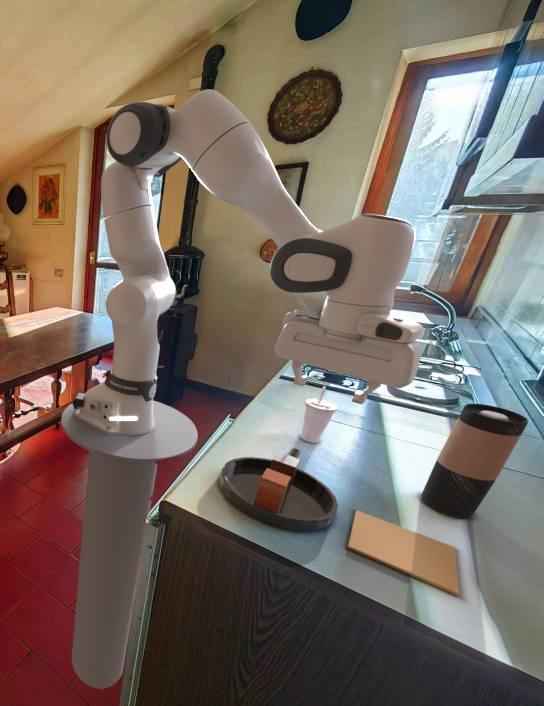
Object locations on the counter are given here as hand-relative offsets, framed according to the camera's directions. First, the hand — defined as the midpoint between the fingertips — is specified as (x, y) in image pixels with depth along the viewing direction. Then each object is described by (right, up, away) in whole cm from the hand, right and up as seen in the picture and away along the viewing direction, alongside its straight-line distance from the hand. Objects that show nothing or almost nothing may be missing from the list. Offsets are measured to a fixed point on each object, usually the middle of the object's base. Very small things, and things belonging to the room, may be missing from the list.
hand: (327, 393), depth 71 cm
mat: (+7, -26, -7) cm, 27 cm away
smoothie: (+15, -12, +26) cm, 32 cm away
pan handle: (+3, -17, +15) cm, 22 cm away
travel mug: (+25, -22, +3) cm, 34 cm away
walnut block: (-4, -19, +8) cm, 21 cm away
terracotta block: (-9, -21, +2) cm, 23 cm away
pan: (-7, -20, +5) cm, 22 cm away
